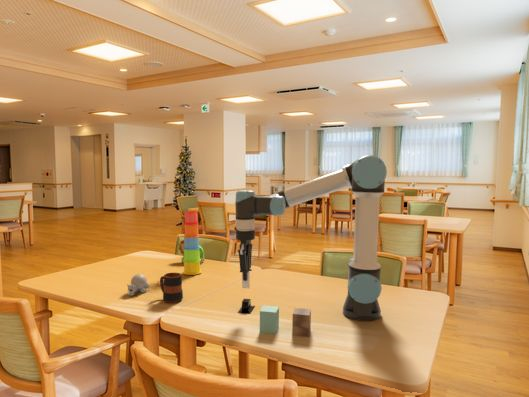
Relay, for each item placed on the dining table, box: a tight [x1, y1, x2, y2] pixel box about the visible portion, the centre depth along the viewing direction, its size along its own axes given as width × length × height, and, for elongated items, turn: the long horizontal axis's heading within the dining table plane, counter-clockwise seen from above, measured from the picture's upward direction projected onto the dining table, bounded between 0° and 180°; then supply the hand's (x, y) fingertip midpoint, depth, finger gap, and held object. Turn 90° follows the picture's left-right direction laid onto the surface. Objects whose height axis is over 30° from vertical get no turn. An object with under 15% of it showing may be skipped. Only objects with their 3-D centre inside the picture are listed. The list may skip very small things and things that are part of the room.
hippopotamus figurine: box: [126, 273, 150, 297], centre depth 187 cm, size 7×12×8 cm, turn 155°
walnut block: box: [291, 307, 312, 338], centre depth 145 cm, size 6×6×8 cm
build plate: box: [237, 298, 256, 315], centre depth 168 cm, size 12×7×5 cm, turn 169°
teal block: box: [259, 305, 280, 335], centre depth 148 cm, size 6×6×8 cm
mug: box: [159, 272, 184, 304], centre depth 179 cm, size 9×12×12 cm
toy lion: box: [178, 239, 206, 264], centre depth 247 cm, size 16×5×15 cm, turn 80°
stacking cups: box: [182, 210, 202, 276], centre depth 222 cm, size 10×10×35 cm
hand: (245, 287), depth 160 cm, fingers closed
